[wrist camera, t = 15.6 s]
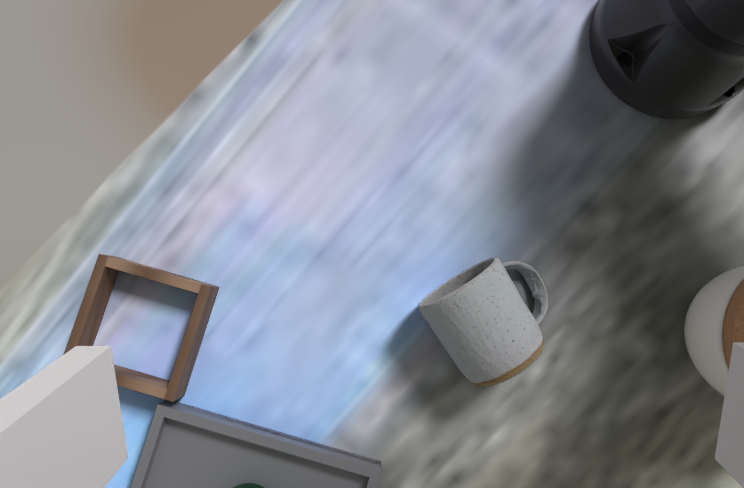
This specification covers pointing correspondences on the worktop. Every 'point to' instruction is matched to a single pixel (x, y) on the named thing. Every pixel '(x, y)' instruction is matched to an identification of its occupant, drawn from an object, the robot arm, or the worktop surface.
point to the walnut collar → (95, 309)
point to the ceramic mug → (488, 320)
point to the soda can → (248, 485)
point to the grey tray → (240, 455)
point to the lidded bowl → (716, 326)
